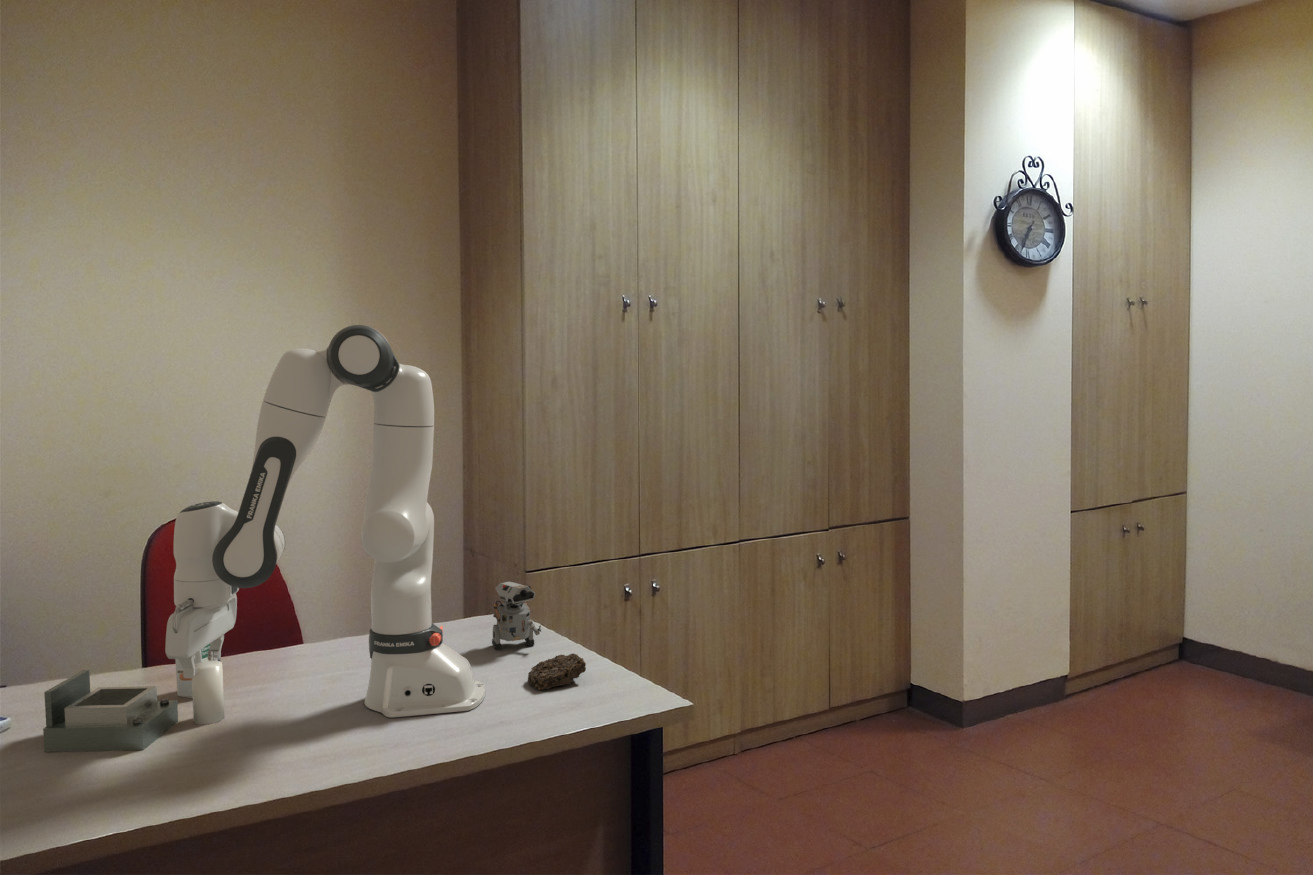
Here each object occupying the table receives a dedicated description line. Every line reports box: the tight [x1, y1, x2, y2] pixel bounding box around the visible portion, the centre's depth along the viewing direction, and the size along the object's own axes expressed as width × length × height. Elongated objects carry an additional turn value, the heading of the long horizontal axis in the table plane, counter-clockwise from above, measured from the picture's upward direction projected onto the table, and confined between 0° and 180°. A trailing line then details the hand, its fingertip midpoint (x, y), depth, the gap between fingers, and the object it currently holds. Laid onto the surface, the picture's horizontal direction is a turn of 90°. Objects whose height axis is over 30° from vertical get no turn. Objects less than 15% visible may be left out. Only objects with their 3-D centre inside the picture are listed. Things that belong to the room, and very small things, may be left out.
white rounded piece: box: [179, 660, 225, 726], centre depth 162 cm, size 7×5×10 cm
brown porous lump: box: [527, 652, 587, 691], centre depth 182 cm, size 12×10×5 cm
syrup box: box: [174, 644, 221, 699], centre depth 176 cm, size 6×6×14 cm
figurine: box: [491, 581, 542, 651], centre depth 204 cm, size 9×12×15 cm
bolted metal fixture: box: [42, 669, 179, 753], centre depth 155 cm, size 16×12×10 cm
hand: (202, 667), depth 162 cm, fingers open, 8 cm apart
